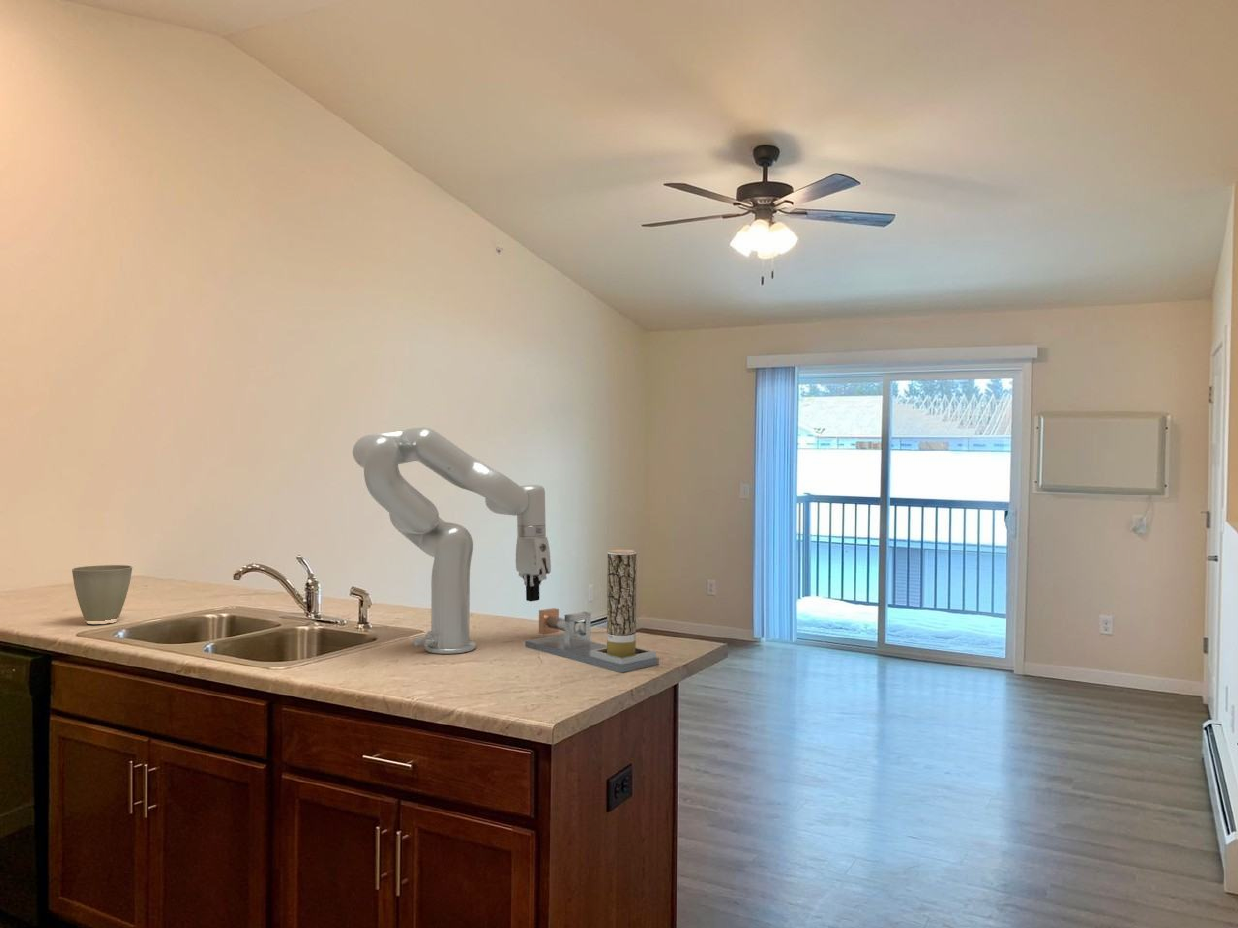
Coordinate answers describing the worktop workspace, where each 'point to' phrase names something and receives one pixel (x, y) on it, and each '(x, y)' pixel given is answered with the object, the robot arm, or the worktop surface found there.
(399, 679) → the worktop surface
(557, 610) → the shaft
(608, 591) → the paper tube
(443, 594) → the robot arm
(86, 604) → the plant pot
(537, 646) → the shaft frame
